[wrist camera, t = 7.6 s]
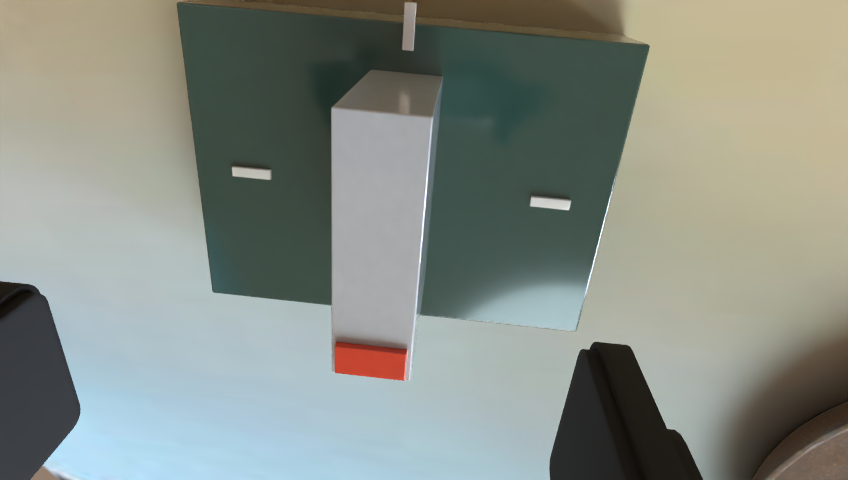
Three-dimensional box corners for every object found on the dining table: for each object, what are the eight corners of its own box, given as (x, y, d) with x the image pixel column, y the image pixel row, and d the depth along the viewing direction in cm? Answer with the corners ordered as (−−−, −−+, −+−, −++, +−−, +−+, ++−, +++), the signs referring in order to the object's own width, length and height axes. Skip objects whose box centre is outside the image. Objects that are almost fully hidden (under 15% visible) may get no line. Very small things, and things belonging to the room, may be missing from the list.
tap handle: (370, 69, 17) (328, 108, 12) (443, 76, 17) (432, 119, 12) (363, 278, 21) (329, 377, 16) (424, 285, 21) (409, 387, 16)
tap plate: (241, 269, 25) (211, 307, 22) (214, -20, 19) (170, -20, 16) (561, 303, 24) (574, 347, 21) (629, 17, 19) (658, 24, 16)
